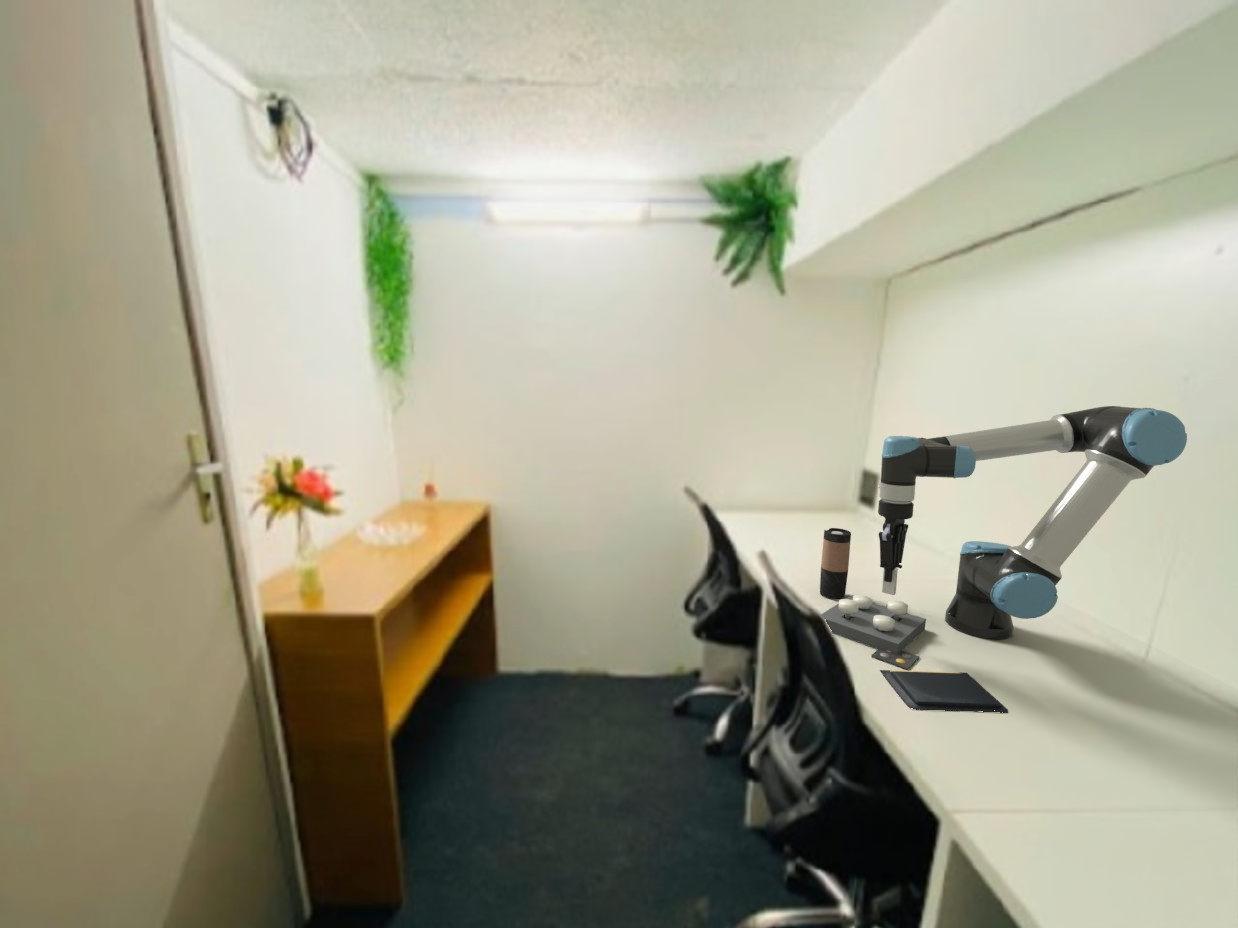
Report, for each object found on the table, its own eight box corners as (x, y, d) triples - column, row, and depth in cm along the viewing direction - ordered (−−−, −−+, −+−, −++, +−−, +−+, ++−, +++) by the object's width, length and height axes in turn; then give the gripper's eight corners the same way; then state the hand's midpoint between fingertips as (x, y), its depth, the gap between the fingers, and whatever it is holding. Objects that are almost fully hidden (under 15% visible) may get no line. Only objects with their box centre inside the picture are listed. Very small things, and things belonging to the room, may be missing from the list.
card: (919, 657, 128) (919, 655, 128) (907, 670, 123) (907, 667, 123) (884, 645, 134) (884, 643, 134) (871, 656, 128) (871, 654, 128)
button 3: (873, 615, 149) (875, 598, 148) (866, 620, 146) (867, 603, 145) (855, 609, 152) (857, 593, 152) (848, 614, 149) (850, 598, 148)
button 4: (860, 620, 143) (861, 603, 142) (852, 625, 139) (854, 608, 138) (842, 614, 146) (843, 597, 145) (834, 619, 143) (835, 602, 142)
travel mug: (848, 601, 160) (854, 535, 157) (820, 598, 162) (826, 534, 158) (843, 591, 167) (848, 528, 164) (817, 588, 169) (822, 526, 166)
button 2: (895, 637, 136) (897, 619, 136) (888, 643, 133) (890, 625, 132) (876, 630, 140) (877, 613, 139) (868, 636, 136) (870, 618, 136)
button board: (924, 629, 143) (926, 618, 142) (896, 655, 129) (898, 644, 128) (849, 605, 157) (850, 595, 156) (816, 626, 143) (817, 616, 143)
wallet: (909, 703, 108) (878, 663, 123) (908, 712, 108) (877, 671, 123) (1014, 709, 107) (969, 667, 122) (1012, 717, 107) (968, 675, 122)
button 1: (908, 621, 142) (910, 604, 141) (902, 627, 139) (904, 609, 138) (889, 615, 146) (891, 598, 145) (882, 620, 142) (884, 603, 142)
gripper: (890, 493, 138) (883, 581, 142) (869, 502, 129) (862, 595, 133) (922, 498, 132) (914, 589, 136) (903, 507, 123) (895, 605, 127)
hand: (888, 592), depth 134 cm, fingers closed
